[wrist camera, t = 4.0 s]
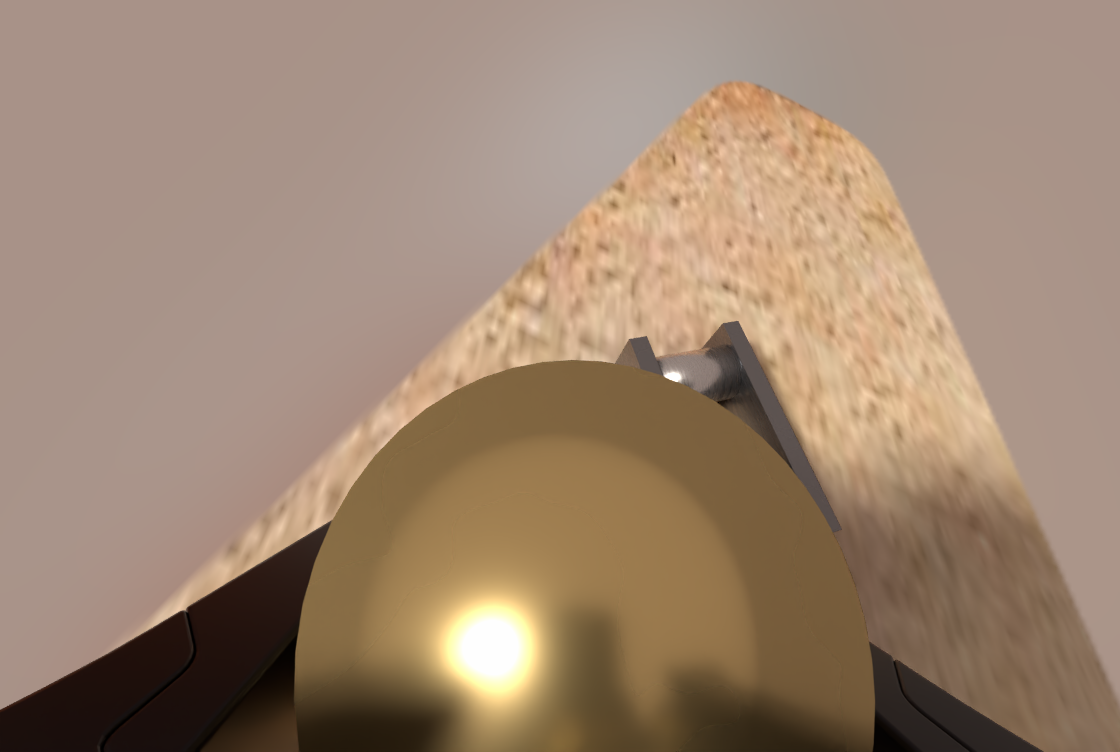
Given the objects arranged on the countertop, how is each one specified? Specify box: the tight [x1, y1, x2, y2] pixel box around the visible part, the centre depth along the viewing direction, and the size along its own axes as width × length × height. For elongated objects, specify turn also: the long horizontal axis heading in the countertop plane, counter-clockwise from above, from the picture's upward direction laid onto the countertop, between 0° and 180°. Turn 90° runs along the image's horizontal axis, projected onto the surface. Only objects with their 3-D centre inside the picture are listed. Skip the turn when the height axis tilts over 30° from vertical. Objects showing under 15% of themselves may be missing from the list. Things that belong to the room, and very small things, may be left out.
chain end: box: [615, 321, 842, 532], centre depth 17 cm, size 7×4×2 cm, turn 16°
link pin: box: [294, 360, 875, 752], centre depth 9 cm, size 5×5×11 cm
